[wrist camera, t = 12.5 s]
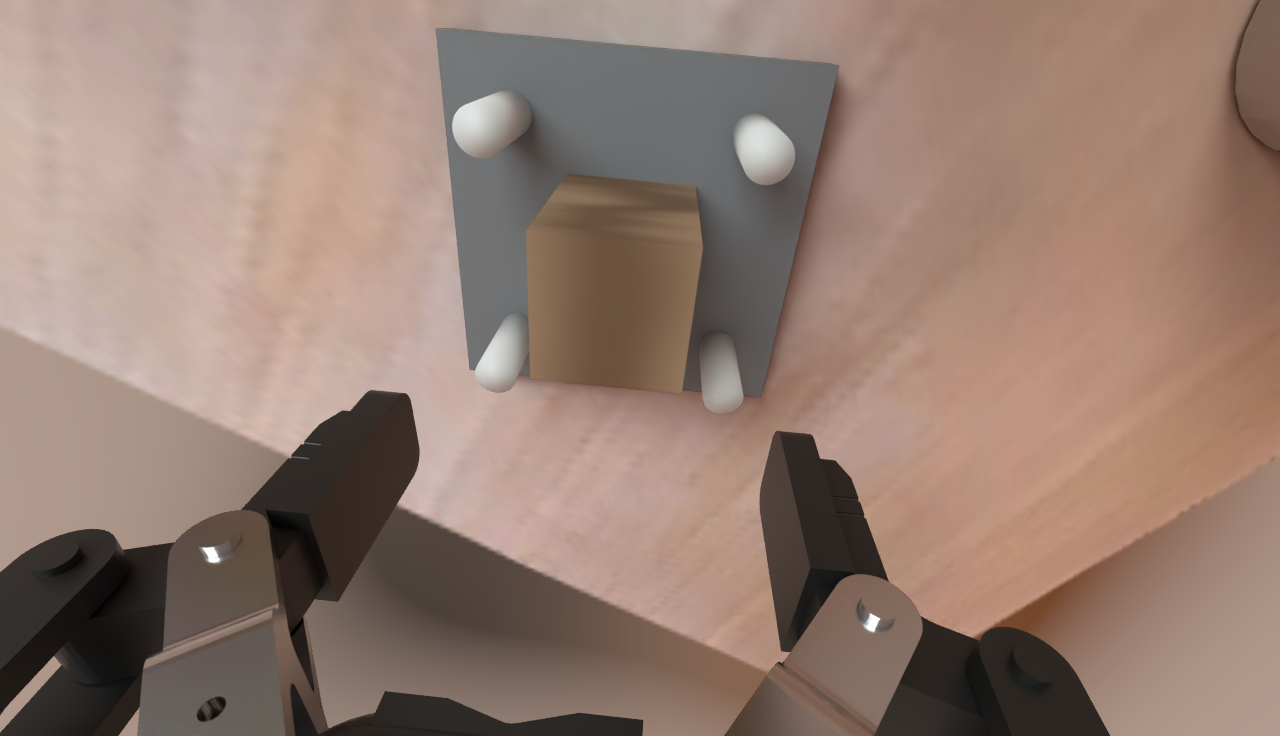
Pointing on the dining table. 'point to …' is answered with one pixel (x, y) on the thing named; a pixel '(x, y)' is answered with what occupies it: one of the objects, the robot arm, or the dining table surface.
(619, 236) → the walnut block
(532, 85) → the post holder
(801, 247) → the dining table surface
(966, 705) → the robot arm
